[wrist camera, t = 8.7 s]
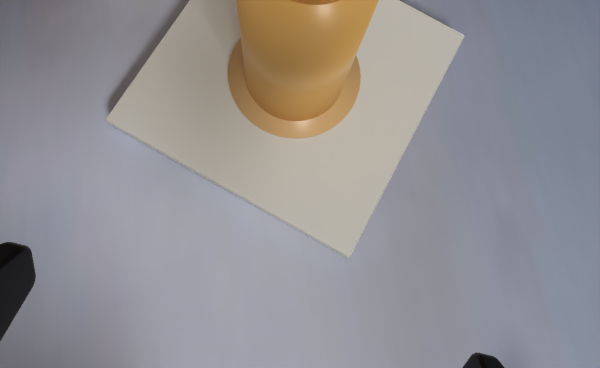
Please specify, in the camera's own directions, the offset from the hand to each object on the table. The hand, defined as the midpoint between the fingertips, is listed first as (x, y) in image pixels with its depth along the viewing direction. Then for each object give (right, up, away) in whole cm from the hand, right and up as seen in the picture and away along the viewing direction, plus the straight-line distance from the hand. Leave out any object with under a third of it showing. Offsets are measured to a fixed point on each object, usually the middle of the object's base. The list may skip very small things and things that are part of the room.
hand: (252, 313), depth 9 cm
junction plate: (+1, +8, +15) cm, 17 cm away
